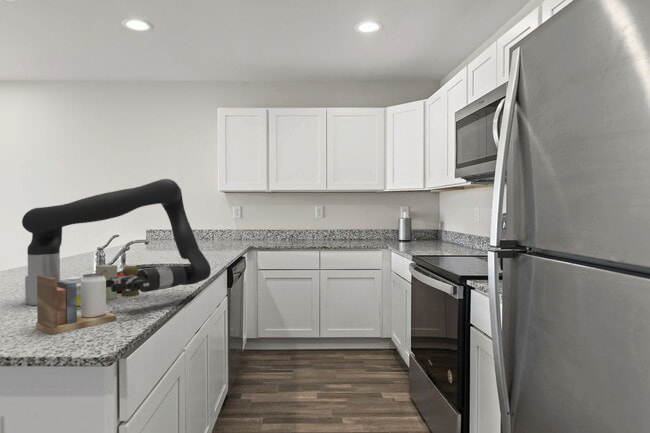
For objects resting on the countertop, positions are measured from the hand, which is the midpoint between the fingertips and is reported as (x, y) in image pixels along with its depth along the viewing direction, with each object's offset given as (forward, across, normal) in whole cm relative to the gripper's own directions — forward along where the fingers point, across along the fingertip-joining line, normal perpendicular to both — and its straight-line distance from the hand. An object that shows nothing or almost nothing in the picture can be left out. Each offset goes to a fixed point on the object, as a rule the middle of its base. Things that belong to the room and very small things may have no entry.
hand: (104, 286), depth 122 cm
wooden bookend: (+8, 0, +9) cm, 12 cm away
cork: (-21, -26, +10) cm, 35 cm away
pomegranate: (-20, -36, +10) cm, 42 cm away
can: (+3, 0, +8) cm, 9 cm away
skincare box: (-13, -27, +10) cm, 31 cm away
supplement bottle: (+1, -20, +10) cm, 23 cm away
